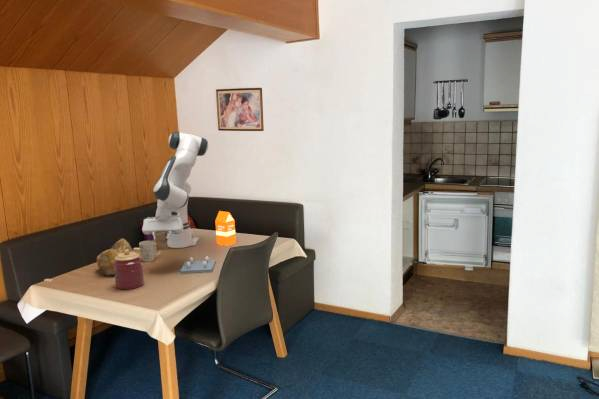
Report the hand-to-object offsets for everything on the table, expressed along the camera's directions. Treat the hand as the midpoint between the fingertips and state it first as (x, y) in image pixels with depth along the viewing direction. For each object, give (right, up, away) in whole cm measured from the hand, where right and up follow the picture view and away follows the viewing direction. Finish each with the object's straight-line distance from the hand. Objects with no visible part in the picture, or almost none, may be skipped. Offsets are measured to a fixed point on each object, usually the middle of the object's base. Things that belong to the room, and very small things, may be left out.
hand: (161, 240), depth 254 cm
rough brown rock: (-28, -17, +12) cm, 35 cm away
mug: (-13, -13, +29) cm, 34 cm away
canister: (-12, -21, -12) cm, 27 cm away
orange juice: (+25, -7, +54) cm, 60 cm away
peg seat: (+17, -15, +10) cm, 25 cm away
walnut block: (0, -4, +1) cm, 5 cm away
